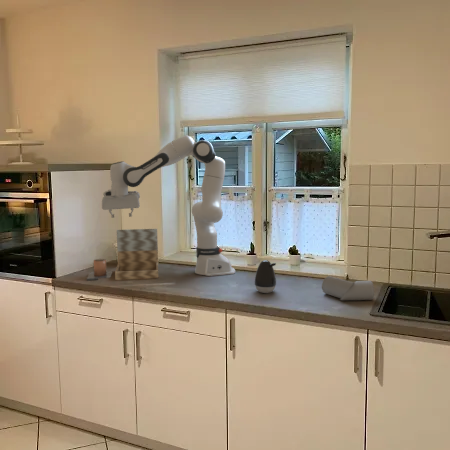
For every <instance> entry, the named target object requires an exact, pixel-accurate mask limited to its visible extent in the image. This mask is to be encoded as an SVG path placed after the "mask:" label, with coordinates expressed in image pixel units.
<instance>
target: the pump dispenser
mask: <svg viewBox="0 0 450 450" xmlns="http://www.w3.org/2000/svg"><path fill="white" fill-rule="evenodd" d="M276 265H277V263H276V262H273V263H271V261H269V260H268V259H263V260H262V261H261V262H260V263H259V264H258V267H257V269H256V272H255V277H254V285H255V288H256V290H257V291H258V293H259V292H260V293H261V294H271V293H272V292H273V291H274V290H275V288H276V286H277V277H276V274H275V273H276V272H275V269H274V267H275V266H276Z"/></svg>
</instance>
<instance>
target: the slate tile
mask: <svg viewBox="0 0 450 450" xmlns="http://www.w3.org/2000/svg"><path fill="white" fill-rule="evenodd" d="M112 274H113V271H111V270H110V271H106V275H105V276H94V271H91V272H89V274H88V275H87V277H86V281H98V280H99V279H110V278H111V277H112Z"/></svg>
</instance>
